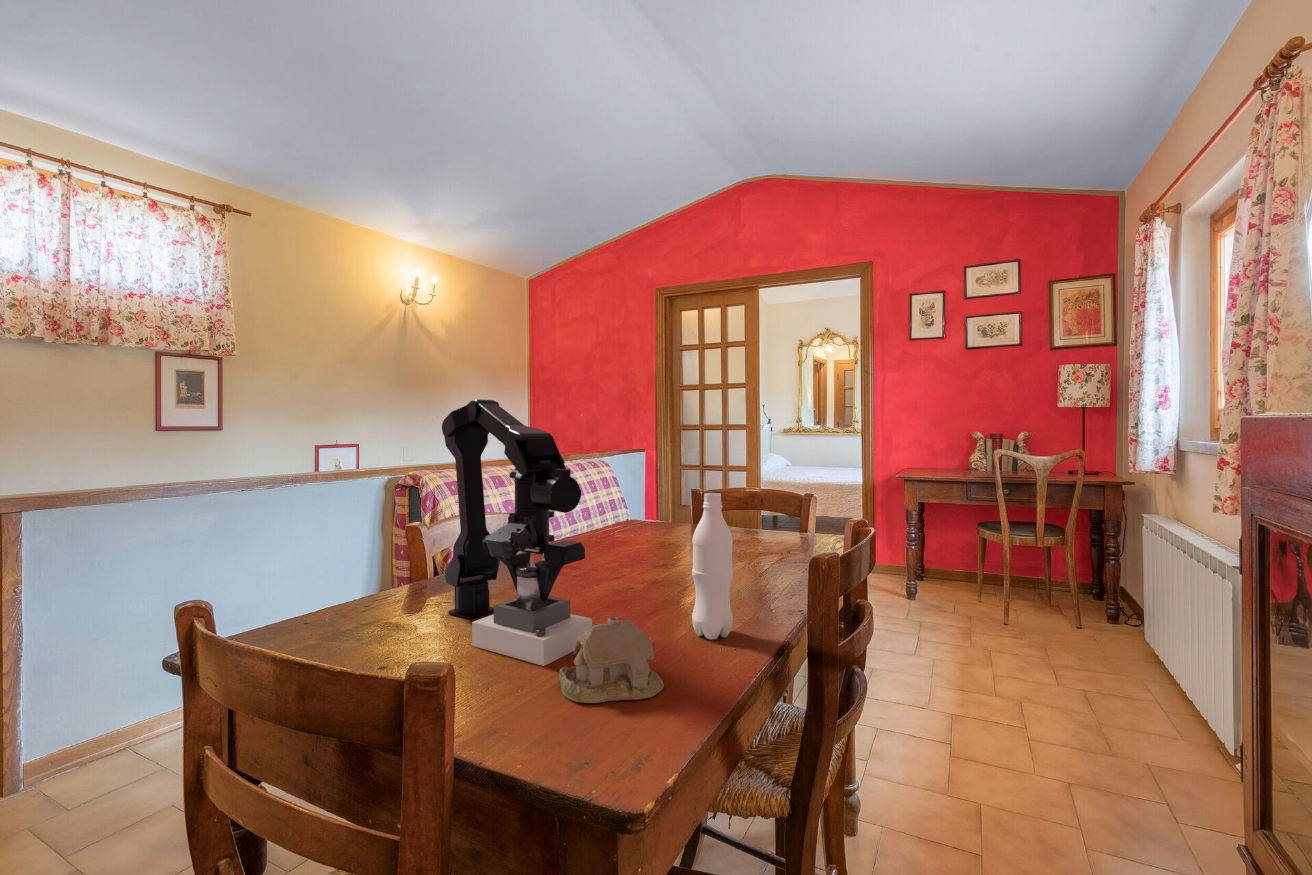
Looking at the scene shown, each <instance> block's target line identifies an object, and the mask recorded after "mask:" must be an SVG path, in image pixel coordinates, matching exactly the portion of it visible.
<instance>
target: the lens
mask: <svg viewBox="0 0 1312 875" xmlns="http://www.w3.org/2000/svg"><path fill="white" fill-rule="evenodd" d="M534 563H535V562H529V563H525V564H521V565H518V566H517V567H516V575H517V591H516V598H517V608H521V609H526V610H530V611H535V610H538V609H540V608H543V607H546V606H547V600H545V601H541V596H540V576H539V570H538V569H537V567H536V566H535V565H534Z"/></svg>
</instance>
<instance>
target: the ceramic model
mask: <svg viewBox="0 0 1312 875" xmlns="http://www.w3.org/2000/svg"><path fill="white" fill-rule="evenodd" d="M573 654H574V655H575V658H574V660H573V664H574V665H575V666H572V667H567V666H563V667H561V668H560V669H559V675H558V680H559V683H560V686H559V687H560V689H561V692H562V694H563V696H564V697H566V698H567V699H569V700H571V701H572V702H576V703H583V704H584V703H585V704H598V703H603V702H609V701H625V700H626V701H628V700H630V701H631V700H634V701H635V700H642V699H648V698H652V697H654V696H656V695H657V694H658V693H660V692H661V691H662V690H663V689H664V687H665V684H664V681H663V679H662V677H660V676H659V674H658V673H657V672H655V671H654V670H652V669H651V668H650V664H649V663H650V661H652V660H654V657H655V654H654V648H653V645H652V640H651V639H650V637H649V636H648V635H647V634H645V633H644V632H643V631H642V630H641V629H640V628H639V627H638V626H637V625H636V624H635V621H633V620H632V619H625V620H621V621H620V620H619V619H618V617H616V616H609V617H608V620H607V623H600V624H595V625H592V626H590V628H589V629H588V630H587V631H586V632H585V633H584V634H583V635H581V636H579V638H578V639H577V642H576V646H575V650H574V651H573Z"/></svg>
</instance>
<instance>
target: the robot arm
mask: <svg viewBox="0 0 1312 875" xmlns="http://www.w3.org/2000/svg"><path fill="white" fill-rule="evenodd" d="M441 432H442V435H443V437H444V443H445V447H446V448H447V449H448V452H449V453H450V454H451V456H452V457H453V458H454V460H455V471H456V483H457V484H456V485H457V496H458V498H457V499H458V512H459V525H460V526H459V527H460V531H459V532H460V533H459V535H458V537H457V538H456V540H455V543H454V545H453V547H452V549H453V550H452V551H453V552H452V554H453V555H452V557H451V560H450V562H449V563H448V566H447V568H446V569H445V571H444V576H445V584H447V585H450V586H452V587H454V608H453V609H450V610H448V614H449V615H453V616H457V617H461V618H464V619H473V618H477V617H480V616H482V615H483V616H484V615H485V614H488V613H491V612H494V606H490V604H491V603H490V600H491V599H490V588H489V581H496V580H497V577H498V573H499V566H500V562H501V563H503V564H504V565H506V568H507V570H508V572H509V574H510V577H511V579H512V582H513V585H514V590H515V591H516V592H517V575H516V567H517V566H518V565H521V564H525V563H531V554H535V555H541V556H542V558H541V559H542V560H540V561H537V562H533V563H534V565H535V566H536V567H537V569H538V570H539V576H540V596H541V601H545V600H547V598H548V596H550V594H551V591H552V589H553V588H554V585H555V583H556V581H557V578H558V576H559V574H560V572H561V571H562V569H563V567H564V566H565V565H569V564H573V563H575V562H579V561H582V560H585V559H586V548H585V546H584V544H583V543H582V541H575V540H568V539H567V540H566V539H564V540H560V541H557V542H555V534H550V519H552V518H555V512H557V513H558V512H559V513H564V514H567V513H570V512H572V511H574V510H575V509H576V508H577V507H578V505H579V504H580V501H581V498H582V489H581V487H580V484H579V483H578V481H577V480H576V479H575V478H573V477H572V476H571V469H570V468H567V467H566V464H565V463H566V461H565V460H564V458H563V457H562V455H561V453H560V450H559V448H558V446H557V443H556V441H555V438H554V437H553V435H552V434H551V433H550V432H548V431H546V430H543V429H540V428H538V427H537V428H536V427H532V426H527V425H525V424H523V423H522V422H521V421H519V419H518V418H516V417H515V416H513V415H512V414H511V413H510V412H508V411H506V409H504V408H503V407H502V406H500V403H499V402H498V401H495V400H494V399H474V400H470V401H469V402H468V403H467V404H466V405H464V406H462V407H459V408H457V409H454V410H452V411H451V412H449V414H448V415H447V416H445V418H444V419H443V420H442V423H441ZM489 434H491V435H492V436H493V437H495V438H496V439H497V440H498V441H499V442H500V443H501V444H503V446H504V452H503V454H504V455H505V457H507V460H509V462H510V463H511V464H512V465H513V466H514V467H515V468H514V469H513V470H512V471H511V472H510V473H509V476H508V477H509V478H511V479H514V511H513V512H509V514H508V516H507V517H508V518H507V524H505V525H503V526H501V527H499V528H498V529H496V530H495V531H493V532H492V533H490V532H489V531H488V529H487V520H486V519H487V518H486V508H485V506H486V505H485V492H484V480H483V470H482V469H483V468H482V455H483V453H484V451H485V449H486V448H487V445H488V443H489ZM551 542H553V543H551Z"/></svg>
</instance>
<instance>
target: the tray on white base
mask: <svg viewBox="0 0 1312 875" xmlns="http://www.w3.org/2000/svg"><path fill="white" fill-rule="evenodd" d="M493 607H494V611H493V614H491V615H488V616H485V617H481V618H480V619H477V620H474V621H472V622H471V628H472V629H471V636H472V637H471V638H472V639H471V641H472V642H471V646H472V647H475V648H478V649H483V650H486V651H490V652H493V653H497V654H500V655H504V656H508V657H511V658H514V659H518V660H521V661H524V662H528V663H532V664H535V665H539V666H543V667H545V666H546V665H549V664H551V663H553V662H555V661H557V660H558V659H561V658H563V657H565V656H566V655H569V654H571V653H572V652H573V653H574V650H575V646H576V642H577V639H578V638H579V636H581V635H583V634H584V633H585V632H586V631H587V630H588V629H589V628H590V626H593V618H591V617H585V616H582V615H577V614H572V613H571V599H566V598H562V597H561V598H560V597H556V596H550V595H549V596H548V598H547V606H546V607H543V608H540V609H538V610H535V611H530V610H526V609H521V608H517V597H514V598H511V599H508V600H506V601H505V600H504V601H502V602H500V603H497V604H494V605H493Z"/></svg>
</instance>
